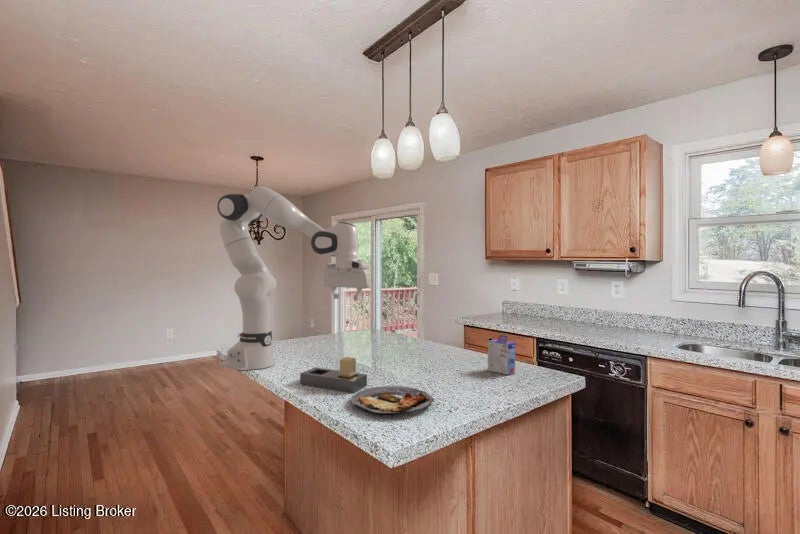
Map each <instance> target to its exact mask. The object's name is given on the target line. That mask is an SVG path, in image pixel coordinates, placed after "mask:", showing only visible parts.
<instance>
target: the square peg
mask: <svg viewBox="0 0 800 534" xmlns="http://www.w3.org/2000/svg"><path fill="white" fill-rule="evenodd" d="M356 362H357V359H356V357H350V356H349V357H348V356H345V357H343V358H340V359H339V371H340V378H346V379H352V378H354V377H356V373H357V370H356V368H357V367H356V366H357V365H356Z"/></svg>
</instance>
